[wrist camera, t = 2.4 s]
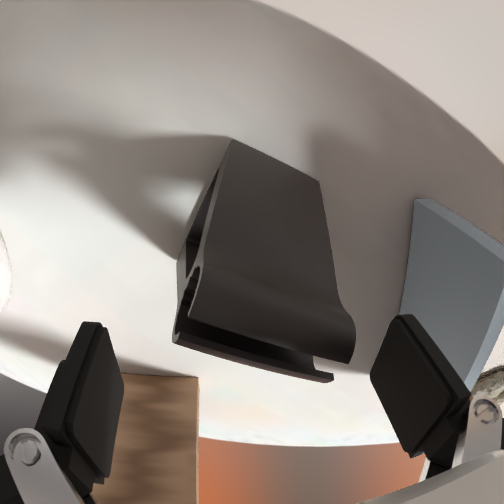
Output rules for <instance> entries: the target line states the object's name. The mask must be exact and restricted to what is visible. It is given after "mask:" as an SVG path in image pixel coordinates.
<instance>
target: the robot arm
mask: <svg viewBox="0 0 504 504" xmlns="http://www.w3.org/2000/svg"><path fill="white" fill-rule="evenodd" d="M370 380H371V383H372V385H373V387H374V389H375V391H376V393H377V395H378V397H379V399H380V401H381V403H382V405H383V407H384V409H385V412H386V414H387V416H388V418H389V420H390V422H391V424H392V426H393V429H394V431H395V433H396V435H397V437H398V439H399V441H400V444H401V445H402V448H403V450H404V451H405V452H408V454H409V456H410V458H413V457H416V456H419V455H421V454H423V453H425V455H426V460H425V464H424V468H423V470H422V474H421V477H420V480H419V483H416V484H414V485H411V486H408V487H406V488H403V489H400V490H398V491H395V492H392V493H389V494H386V495H383V496H380V497H377V498H373V499H370V500H367V501H363V502H360V503H356V504H504V418H502V411H501V409H500V406H499V405H498V404H497V403H496V402H495V401H494V400H493V399H492V398H489V397H487V396H477V397H475V398H474V399H473V400H472V401H470V399H469V398H470V396H471V395H472V394H471V392H470V391H469V389H468V388H467V387H466V385H465V384H464V382H463V381H462V379H461V378H460V376H459V375H458V374H457V372H456V371H455V369H454V368H453V367H452V365H451V364H450V362H449V361H448V360H447V358H446V357H445V356H444V354H443V353H442V351H441V350H440V349H439V347H438V346H437V345H436V343H435V342H434V341H433V339H432V338H431V337H430V335H429V334H428V333H427V331H426V330H425V329H424V328H423V326H422V325H421V324H420V322H419V321H418V320H417V319H416V317H415V316H414V315H413V314H403V315H397V316H396V317H395V318H394V320H392V321H391V323H390V325H389V328H388V331H387V333H386V336H385V338H384V341H383V343H382V346H381V348H380V351H379V353H378V355H377V358H376V360H375V362H374V365H373V367H372V369H371V372H370ZM123 396H124V382H123V379H122V376H121V373H120V370H119V367H118V363H117V360H116V357H115V354H114V350H113V347H112V343H111V340H110V336H109V333H108V329H107V328H106V327H103V326H102V324H101V323H99V322H85V321H84V322H83V323H82V324H81V326H80V328H79V330H78V333H77V335H76V337H75V339H74V342H73V344H72V346H71V348H70V351H69V353H68V355H67V358H66V360H62V361H61V362H60V364H59V366H58V368H57V370H56V373H55V375H54V378H53V380H52V383H51V385H50V388H49V390H48V393H47V395H46V398H45V401H44V403H43V406H42V409H41V412H40V414H39V417H38V420H37V423H36V426H35V429H34V430H33V429H30V428H22V429H18V430H16V431H14V432H13V433H11V434H10V436H9V437H8V438H7V440H6V442H5V446H4V455H2V456H0V504H98V502H97V501H96V499H95V498H94V497H93V495H92V494H91V492H92V490H93V483H96V484H101V485H104V480H105V478H109V476H110V472H111V465H112V458H113V452H114V445H115V439H116V433H117V428H118V422H119V416H120V411H121V406H122V401H123Z"/></svg>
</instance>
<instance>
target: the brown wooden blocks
mask: <svg viewBox="0 0 504 504" xmlns="http://www.w3.org/2000/svg"><path fill="white" fill-rule="evenodd" d="M121 376H122V379H123V382H124V396H123V401H122V406H121V411H120V416H119V422H118V428H117V433H116V439H115V445H114V452H113V458H112V465H111V472H110V476H109V478H105V480H104V485H101V484H96V483H93V490H92V492H91V494H92V495H93V497H94V498H95V499H96V501H97V502H98V504H199V500H198V499H199V497H198V431H199V381H198V377H169V376H151V375H137V374H125V373H121ZM469 399H470V401H472V400H473V399H474V398H473V396H472V395H471V396H470V398H469Z"/></svg>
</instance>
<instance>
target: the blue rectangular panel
mask: <svg viewBox="0 0 504 504" xmlns="http://www.w3.org/2000/svg"><path fill="white" fill-rule="evenodd" d="M403 314H413V315H414V316H415V317H416V319H417V320H418V321H419V322H420V324H421V325H422V326H423V328H424V329H425V330H426V331H427V333H428V334H429V335H430V337H431V338H432V339H433V341H434V342H435V343H436V345H437V346H438V347H439V349H440V350H441V351H442V353H443V354H444V356H445V357H446V358H447V360H448V361H449V362H450V364H451V365H452V367H453V368H454V369H455V371H456V372H457V374H458V375H459V376H460V378H461V379H462V381H463V382H464V384H465V385H466V387H467V388H468V389H469V391H470V392H471V390H472V388H473V387H474V385H475V383H476V381H477V379H478V377H479V376H480V374H481V372H482V370H483V368H484V366H485V364H486V362H487V360H488V358H489V356H490V354H491V352H492V349H493V347H494V345H495V343H496V341H497V338H498V336H499V334H500V332H501V329H502V327H503V324H504V245H502V244H501V243H500V242H498V241H497V240H495V239H494V238H492V237H491V236H490V235H488V234H487V233H485V232H484V231H482V230H481V229H479V228H478V227H476V226H475V225H473V224H472V223H470V222H469V221H467V220H465V219H464V218H462V217H461V216H459V215H458V214H456V213H454V212H453V211H451V210H449V209H448V208H446V207H445V206H443V205H441V204H440V203H438V202H436V201H434V200H433V199H431V198H424V199H414V210H413V222H412V232H411V241H410V250H409V257H408V265H407V272H406V278H405V284H404V290H403V296H402V302H401V307H400V312H399V315H403ZM423 454H425V453H423Z"/></svg>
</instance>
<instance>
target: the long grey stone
mask: <svg viewBox="0 0 504 504" xmlns="http://www.w3.org/2000/svg"><path fill="white" fill-rule="evenodd" d="M471 394H472V396H473V398H475V397H477V396H487V397H489V398H492V399H493V400H494V401H495V402H496V403H497V404H498V405H499V406H500V405H501V403H502V402H503V401H504V370H503V371H502V370H500V371H497V372H496V373H493V374H491V375H489V376H487V377H484V378H482V379H479V380H477V381H476V383H475V385H474V387H473V388H472V390H471Z"/></svg>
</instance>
